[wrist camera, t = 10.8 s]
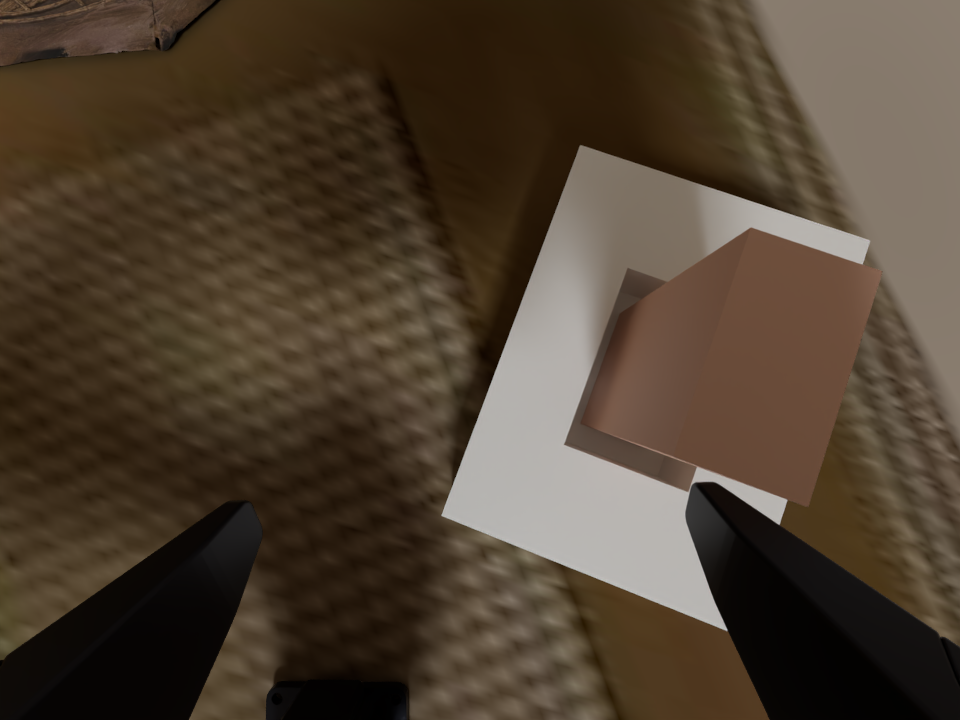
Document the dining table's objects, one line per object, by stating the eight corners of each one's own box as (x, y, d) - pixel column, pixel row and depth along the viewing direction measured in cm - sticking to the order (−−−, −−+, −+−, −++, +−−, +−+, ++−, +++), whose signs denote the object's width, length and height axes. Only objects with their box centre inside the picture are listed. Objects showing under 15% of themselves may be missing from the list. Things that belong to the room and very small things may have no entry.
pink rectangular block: (642, 447, 19) (808, 506, 9) (580, 423, 19) (672, 456, 9) (681, 335, 19) (882, 271, 9) (619, 313, 19) (751, 227, 9)
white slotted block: (692, 586, 19) (743, 637, 15) (452, 491, 20) (441, 515, 16) (796, 270, 20) (870, 240, 16) (564, 192, 21) (580, 144, 17)
